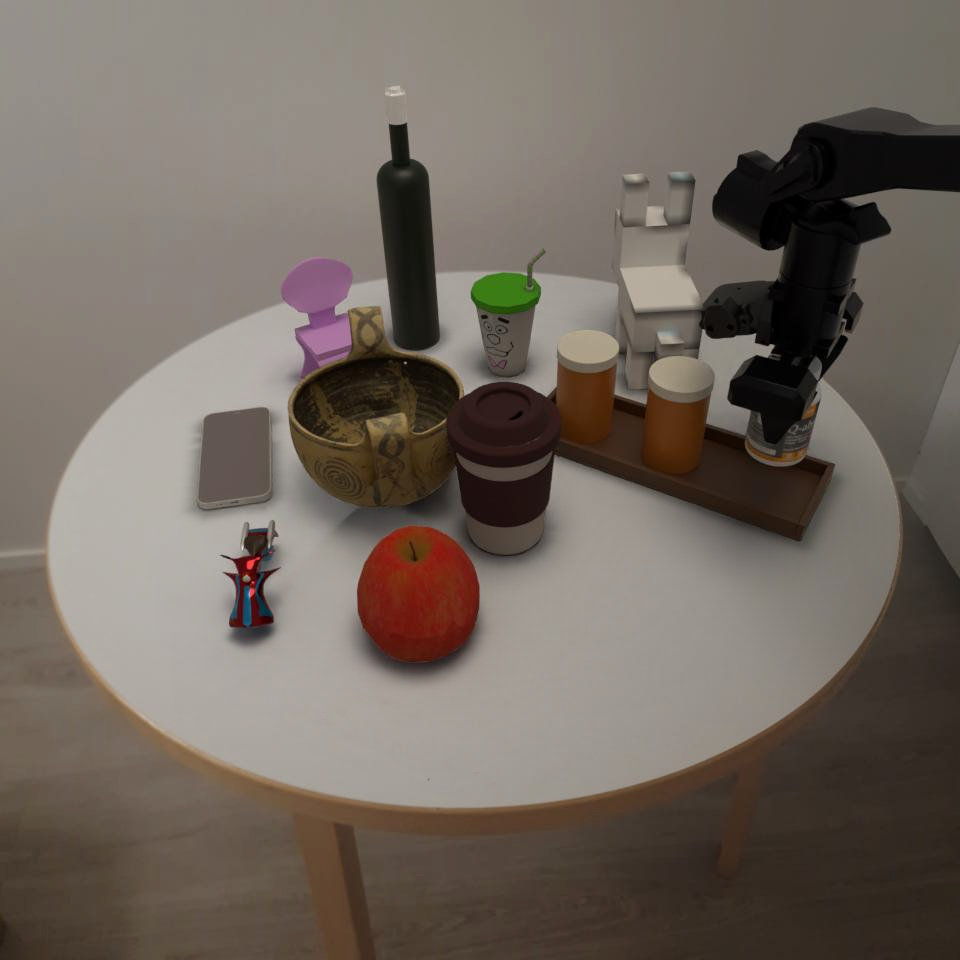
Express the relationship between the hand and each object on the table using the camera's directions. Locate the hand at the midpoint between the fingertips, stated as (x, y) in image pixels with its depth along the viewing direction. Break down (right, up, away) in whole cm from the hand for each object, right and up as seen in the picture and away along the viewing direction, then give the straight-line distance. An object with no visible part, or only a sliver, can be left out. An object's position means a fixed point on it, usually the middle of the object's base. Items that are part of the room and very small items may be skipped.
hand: (781, 424), depth 84 cm
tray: (-8, -3, +10) cm, 13 cm away
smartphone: (-54, -3, +12) cm, 55 cm away
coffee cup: (-25, -10, +3) cm, 27 cm away
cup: (-25, +8, +24) cm, 35 cm away
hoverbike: (-48, -15, -3) cm, 50 cm away
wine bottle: (-36, +12, +29) cm, 48 cm away
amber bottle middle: (-8, -3, +9) cm, 13 cm away
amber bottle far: (-17, +1, +13) cm, 22 cm away
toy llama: (-8, +9, +24) cm, 27 cm away
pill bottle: (0, -2, +2) cm, 3 cm away
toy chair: (-44, +6, +22) cm, 50 cm away
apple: (-33, -18, -6) cm, 38 cm away
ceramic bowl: (-37, -5, +8) cm, 39 cm away
